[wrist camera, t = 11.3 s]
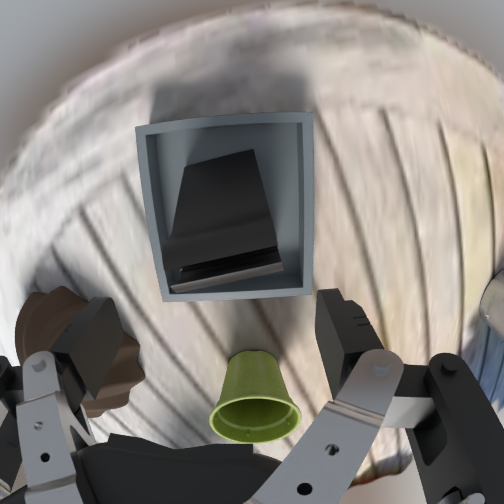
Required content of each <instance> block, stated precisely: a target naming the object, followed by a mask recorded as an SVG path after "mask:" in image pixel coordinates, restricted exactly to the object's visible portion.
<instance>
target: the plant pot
mask: <svg viewBox="0 0 504 504" xmlns="http://www.w3.org/2000/svg"><path fill="white" fill-rule="evenodd" d="M301 418H302V416H301V412H300V410H299V408H298V407H297V406H296V405H295V404H294V403H293V401H292V399H291V398H290V397H289V395H288V392H287V389H286V386H285V383H284V380H283V377H282V374H281V371H280V368H279V365H278V362H277V360H276V359H275V358H274V357H273V356H272V355H271V354H269V353H267V352H265V351H248V350H247V351H243V352H240V353H238V354H236V355H235V356H233V357H232V358H231V360H230V361H229V363H228V367H227V371H226V376H225V380H224V384H223V388H222V392H221V396H220V400H219V401H218V403H217V405H216V407H215V408H214V409H213V410H212V412H211V414H210V418H209V423H210V426H211V427H212V429H213V430H214V431H215V432H216V433H217V434H218V435H220V436H221V437H223V438H225V439H228V440H230V441H234V442H238V443H246V444H261V443H268V442H272V441H276V440H279V439H281V438H284V437H286V436H288V435H289V434H291V433H292V432H294V431H295V430H296V429H297V427H298V426H299V424H300V422H301Z"/></svg>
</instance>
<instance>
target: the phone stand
mask: <svg viewBox="0 0 504 504" xmlns="http://www.w3.org/2000/svg"><path fill="white" fill-rule="evenodd" d="M277 245H278V242H277V237H276V233H275V229H274V225H273V221H272V217H271V214H270V210H269V206H268V202H267V198H266V195H265V191H264V187H263V183H262V179H261V175H260V172H259V168H258V164H257V160H256V157H255V153H254V149H250V150H246V151H242V152H238V153H234V154H230V155H226V156H222V157H218V158H214V159H210V160H206V161H203V162H199V163H196V164H192V165H188V166H185V167H184V172H183V176H182V181H181V186H180V191H179V195H178V201H177V206H176V211H175V216H174V222H173V227H172V232H171V235H170V237H169V239H168V240H167V241H165V242H164V244H163V248H162V262H163V268H164V271H166V270H170V269H175V268H179V267H181V280H179V281H174V282H171V284H170V287H171V288H172V289H173V291H175V292H176V293H179V292H184V291H189V290H194V289H199V288H204V287H209V286H213V285H218V284H223V283H228V282H232V281H237V280H242V279H246V278H251V277H256V276H260V275H265V274H269V273H274V272H278V271H283V265H282V260H281V258H280V254H279V250H278V246H277Z"/></svg>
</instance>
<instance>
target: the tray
mask: <svg viewBox="0 0 504 504" xmlns="http://www.w3.org/2000/svg"><path fill="white" fill-rule="evenodd" d="M135 132H136V142H137V152H138V161H139V170H140V178H141V185H142V193H143V200H144V206H145V213H146V219H147V225H148V231H149V236H150V242H151V247H152V253H153V258H154V263H155V268H156V273H157V277H158V282H159V287H160V291H161V296H162V300H163V302H186V301H214V300H235V299H254V298H270V297H285V296H299V295H312V276H313V245H314V149H313V119H312V112H270V113H247V114H232V115H219V116H209V117H199V118H190V119H182V120H175V121H168V122H161V123H155V124H149V125H143V126H138V127H135ZM250 149H254V153H255V157H256V160H257V164H258V168H259V172H260V175H261V179H262V183H263V187H264V191H265V195H266V198H267V202H268V206H269V210H270V214H271V217H272V221H273V225H274V229H275V233H276V237H277V242H278V245H277V246H278V250H279V254H280V258H281V260H282V265H283V271H278V272H274V273H269V274H265V275H260V276H256V277H251V278H246V279H242V280H237V281H232V282H228V283H223V284H218V285H213V286H209V287H204V288H199V289H194V290H189V291H184V292H179V293H176V292H175V291H173V289H172V288H171V287H170V284H171V282H174V281H179V280H181V267H179V268H175V269H170V270H166V271H164V268H163V262H162V248H163V244H164V242H165V241H167V240H168V239H169V237H170V235H171V232H172V227H173V222H174V216H175V211H176V206H177V201H178V195H179V191H180V186H181V181H182V176H183V172H184V167H185V166H188V165H192V164H196V163H199V162H203V161H206V160H210V159H214V158H218V157H222V156H226V155H230V154H234V153H238V152H242V151H246V150H250Z"/></svg>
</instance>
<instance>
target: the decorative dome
mask: <svg viewBox="0 0 504 504" xmlns="http://www.w3.org/2000/svg"><path fill="white" fill-rule="evenodd" d="M88 303H89V302H88V301H84V300H82V299H81V298H80V297H78V296H77V295H76V294H74V293H73V292H72V291H71V290H69V289H68V288H67V287H65V286H61V287H59V288H57V289H55V290H54V291H52V292H50V293H49V294H45V293H39V292H33V293H32V294H31V295H30V297H29V298H28V299H27V300H26V302H25V303H24V305H23V307H22V309H21V310H20V313H19V315H18V318H17V321H16V327H15V347H16V352H17V356H18V360H19V363H20V365H21V366H23V364H24V362H25V361H26V359H27V358H28V357H30V356H31V355H32V354H34V353H37V352H40V351H49V349H50V348H51V347H52V345H53V344H54V342H55V341H56V340H57V338H58V337H59V336H60V334H61V333H62V332H63V331H64V329H65V328H66V326H67V325H69V322H70V321H71V320H72V318H73V317H74V316H75V315H76V314H78V313H79V312H80V311H82V310H83V309H85V307H86V306H87V305H88ZM139 350H140V344H139V343H138V342H137V341H136V340H135V339H133V338H132V337H131V336H129V335H128V334H127V333H125V332H124V331H123V342H122V345H121V347H120V349H119V351H118V353H117V355H116V357H115V359H114V361H113V363H112V365H111V367H110V369H109V371H108V373H107V375H106V378H105V380H104V382H103V384H102V386H101V388H100V390H99V393H98V395H97V397H96V399H95V401H93V400H87V399H83V400H82V402H81V404H82V405H83V407H84V409H85V412H86V415H87V418H95V417H99V416H101V415H102V414H103V413H104V412H105V411H106V410H110V409H116V408H120V407H123V406H125V405H126V404H127V403H128V401H129V393H130V389H131V388H132V387H134V386H135V385H137V384H138V383H140V382H141V381H143V380H144V379H145V374H144V372H143V370H142V369H141V367H140V365H139V363H138V356H139Z"/></svg>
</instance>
